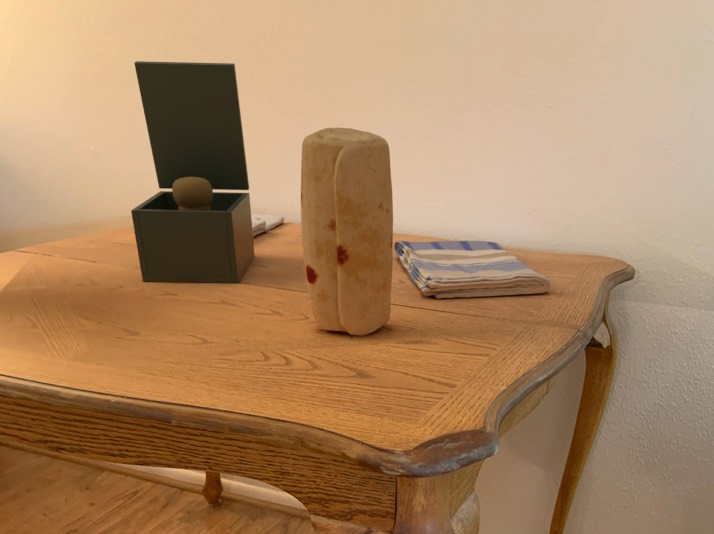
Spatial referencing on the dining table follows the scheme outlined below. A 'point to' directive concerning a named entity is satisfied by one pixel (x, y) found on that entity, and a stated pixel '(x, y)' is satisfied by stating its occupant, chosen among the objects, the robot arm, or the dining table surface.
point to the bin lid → (194, 122)
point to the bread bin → (194, 239)
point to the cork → (193, 193)
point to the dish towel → (467, 269)
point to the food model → (347, 228)
